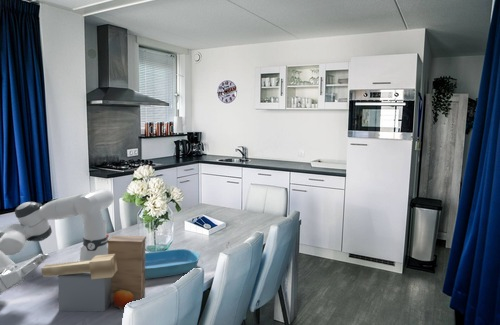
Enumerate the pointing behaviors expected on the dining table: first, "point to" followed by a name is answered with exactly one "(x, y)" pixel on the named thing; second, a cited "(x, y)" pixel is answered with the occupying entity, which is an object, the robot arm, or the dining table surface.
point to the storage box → (83, 292)
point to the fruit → (122, 298)
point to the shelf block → (128, 264)
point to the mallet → (85, 267)
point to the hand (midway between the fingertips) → (42, 259)
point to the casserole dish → (169, 262)
